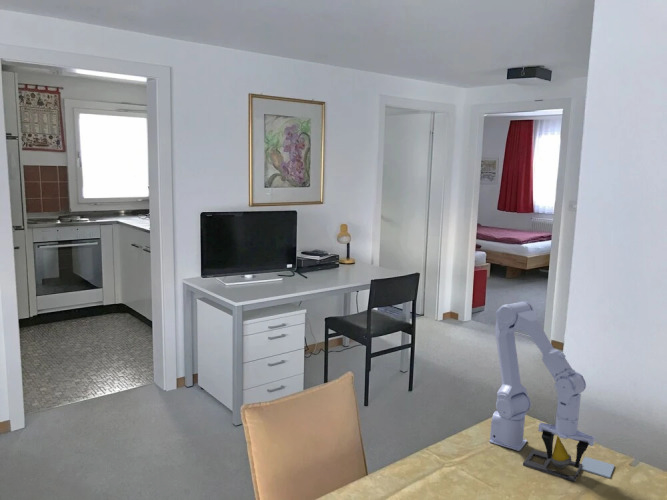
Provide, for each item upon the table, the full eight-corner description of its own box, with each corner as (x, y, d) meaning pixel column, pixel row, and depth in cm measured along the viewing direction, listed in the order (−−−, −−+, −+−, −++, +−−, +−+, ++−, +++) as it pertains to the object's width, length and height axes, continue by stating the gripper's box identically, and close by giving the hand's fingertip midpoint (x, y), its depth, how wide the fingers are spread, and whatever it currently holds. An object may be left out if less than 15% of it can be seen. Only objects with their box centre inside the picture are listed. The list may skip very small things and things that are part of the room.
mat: (578, 469, 159) (579, 467, 159) (584, 457, 166) (584, 456, 166) (609, 478, 155) (609, 477, 154) (614, 466, 161) (614, 465, 161)
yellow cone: (574, 473, 156) (569, 439, 155) (554, 474, 157) (549, 441, 156) (570, 463, 161) (565, 431, 160) (551, 465, 162) (546, 432, 161)
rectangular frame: (522, 465, 160) (522, 463, 160) (532, 451, 168) (532, 449, 168) (574, 482, 152) (574, 479, 152) (582, 466, 160) (582, 464, 160)
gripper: (537, 413, 157) (533, 459, 159) (592, 428, 149) (588, 475, 151) (543, 405, 163) (539, 449, 165) (597, 419, 155) (593, 465, 157)
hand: (563, 461), depth 158 cm, fingers open, 7 cm apart
